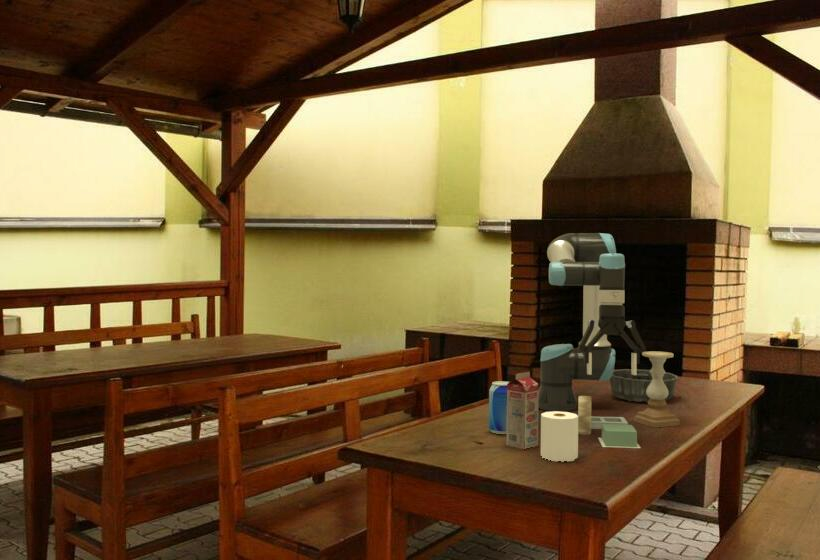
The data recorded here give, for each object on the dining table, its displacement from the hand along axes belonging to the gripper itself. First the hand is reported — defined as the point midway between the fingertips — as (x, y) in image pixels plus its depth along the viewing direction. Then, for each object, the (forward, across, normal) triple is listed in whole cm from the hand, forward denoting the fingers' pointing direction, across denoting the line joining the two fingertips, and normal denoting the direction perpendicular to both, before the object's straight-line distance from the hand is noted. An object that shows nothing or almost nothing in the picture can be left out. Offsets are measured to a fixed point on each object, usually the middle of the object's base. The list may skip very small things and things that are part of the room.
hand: (611, 374), depth 230 cm
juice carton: (+22, -27, -2) cm, 35 cm away
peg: (+20, -5, +12) cm, 24 cm away
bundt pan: (+16, +32, +69) cm, 78 cm away
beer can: (+20, -31, +14) cm, 40 cm away
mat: (+21, +2, 0) cm, 21 cm away
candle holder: (+19, +23, +27) cm, 40 cm away
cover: (+20, +2, 0) cm, 21 cm away
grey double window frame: (+19, +3, +22) cm, 29 cm away
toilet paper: (+22, -19, -14) cm, 33 cm away
